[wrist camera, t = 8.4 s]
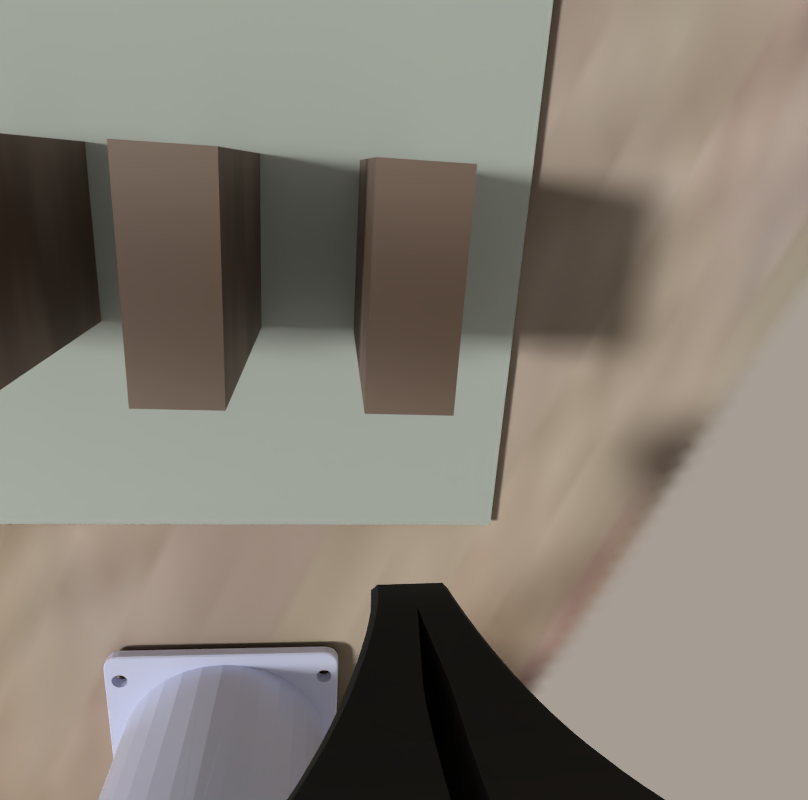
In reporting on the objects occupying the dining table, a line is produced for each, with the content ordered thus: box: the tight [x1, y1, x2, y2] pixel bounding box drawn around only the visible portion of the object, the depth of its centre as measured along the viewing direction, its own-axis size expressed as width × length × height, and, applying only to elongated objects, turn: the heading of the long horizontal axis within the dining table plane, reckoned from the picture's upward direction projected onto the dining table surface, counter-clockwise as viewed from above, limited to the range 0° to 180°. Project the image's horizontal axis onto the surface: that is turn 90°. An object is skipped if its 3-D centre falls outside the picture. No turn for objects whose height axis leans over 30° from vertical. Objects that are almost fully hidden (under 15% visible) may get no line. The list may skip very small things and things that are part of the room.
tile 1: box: [353, 157, 477, 416], centre depth 16 cm, size 5×2×7 cm, turn 176°
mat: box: [0, 0, 553, 525], centre depth 18 cm, size 16×26×1 cm, turn 87°
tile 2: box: [107, 139, 262, 411], centre depth 15 cm, size 5×2×7 cm, turn 176°
